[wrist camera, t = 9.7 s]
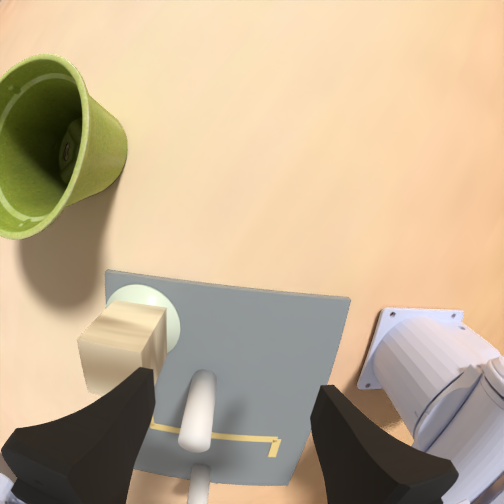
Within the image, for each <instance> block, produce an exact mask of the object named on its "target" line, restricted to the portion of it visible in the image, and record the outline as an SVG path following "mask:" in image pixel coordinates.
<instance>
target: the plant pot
mask: <svg viewBox="0 0 504 504" xmlns="http://www.w3.org/2000/svg"><path fill="white" fill-rule="evenodd" d="M67 143H69V144H70V146H69V150H68V158H67V160H66V161H65V159H64V151H65V147H66V145H67ZM126 156H127V138H126V134H125V132H124V130H123V128H122V126H121V124H120V123H119V121H118V120H117V119H116V118H115V117H114V116H112V115H111V114H110V113H109V112H108V111H107V110H105V109H104V108H103V107H102V106H101V105H100V104H99V103H98V102H96V101H95V100H94V99H93V98H92V97H91V96H90V95H89V94H88V91H87V88H86V85H85V82H84V80H83V78H82V76H81V74H80V73H79V71H78V70H77V68H76V67H75V66H74V65H73V64H71V63H70V62H69V61H68V60H66V59H65V58H63V57H61V56H58V55H54V54H40V55H35V56H31V57H29V58H26V59H24V60H23V61H21V62H19V63H18V64H16V65H14V66H13V67H11V68H10V69H9V70H8V71H7V72H6V73H5V74H4V75H3V76H2V77H1V78H0V236H1V237H4V238H7V239H13V240H21V239H25V238H29V237H31V236H34V235H36V234H38V233H39V232H41V231H43V230H44V229H45V228H47V227H48V226H49V225H50V224H51V223H52V222H53V221H54V220H55V219H56V218H57V217H58V216H59V215H60V213H61V212H62V211H63V210H64V208H65V207H67V206H70V205H72V204H74V203H76V202H78V201H80V200H83V199H85V198H87V197H90V196H92V195H94V194H97V193H99V192H101V191H103V190H105V189H106V188H107V187H108V186H110V185H111V184H112V183H113V182H114V180H115V179H116V178H117V177H118V176H119V174H120V173H121V171H122V169H123V166H124V164H125V160H126Z"/></svg>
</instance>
